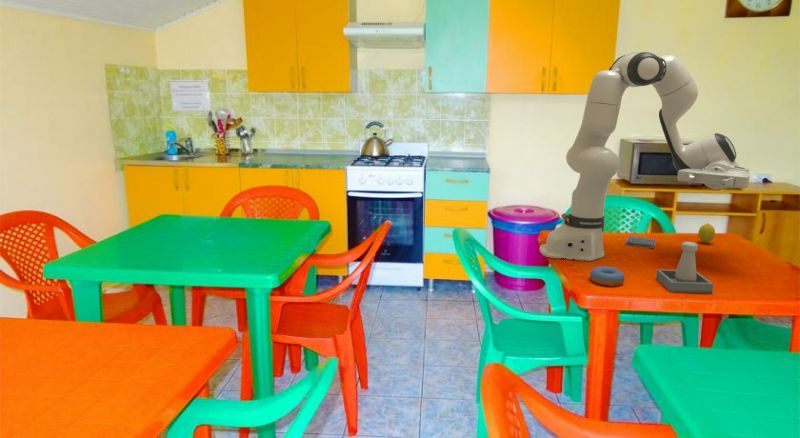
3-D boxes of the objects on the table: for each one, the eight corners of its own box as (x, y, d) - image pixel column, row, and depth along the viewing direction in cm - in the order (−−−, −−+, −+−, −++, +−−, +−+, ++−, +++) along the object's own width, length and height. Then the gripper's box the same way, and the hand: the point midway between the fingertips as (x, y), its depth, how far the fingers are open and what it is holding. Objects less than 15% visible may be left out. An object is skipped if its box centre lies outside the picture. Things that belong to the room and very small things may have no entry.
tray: (670, 292, 157) (671, 282, 157) (655, 278, 169) (656, 269, 168) (712, 293, 156) (713, 283, 156) (694, 279, 168) (695, 270, 167)
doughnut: (605, 273, 173) (606, 260, 171) (631, 284, 164) (632, 271, 163) (582, 281, 169) (583, 267, 167) (607, 293, 160) (608, 279, 159)
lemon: (713, 246, 204) (716, 225, 202) (696, 244, 207) (699, 223, 205) (713, 242, 208) (716, 222, 207) (697, 240, 211) (700, 220, 209)
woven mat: (656, 243, 209) (657, 238, 208) (653, 250, 200) (654, 245, 199) (627, 240, 214) (628, 235, 213) (623, 246, 205) (624, 241, 205)
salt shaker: (699, 287, 159) (705, 245, 156) (679, 287, 160) (684, 245, 156) (689, 281, 165) (695, 240, 162) (670, 280, 165) (675, 239, 162)
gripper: (684, 163, 185) (672, 167, 174) (754, 169, 171) (746, 174, 161) (682, 181, 186) (670, 186, 176) (751, 188, 173) (743, 194, 163)
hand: (707, 180), depth 169 cm, fingers open, 8 cm apart
